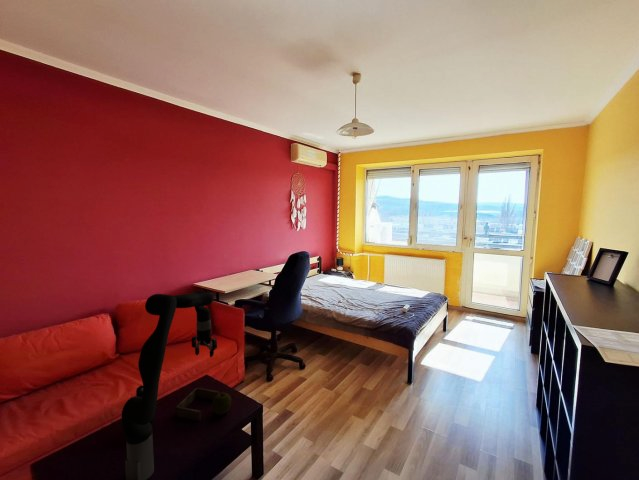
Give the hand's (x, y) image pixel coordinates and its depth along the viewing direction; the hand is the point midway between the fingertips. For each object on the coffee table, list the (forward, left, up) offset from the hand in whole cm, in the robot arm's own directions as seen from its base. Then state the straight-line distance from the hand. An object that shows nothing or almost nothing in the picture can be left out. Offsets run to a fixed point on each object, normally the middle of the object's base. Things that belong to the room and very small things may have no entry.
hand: (204, 355), depth 163 cm
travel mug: (-21, +20, -29) cm, 41 cm away
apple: (-3, -12, -30) cm, 32 cm away
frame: (-3, +2, -29) cm, 29 cm away
